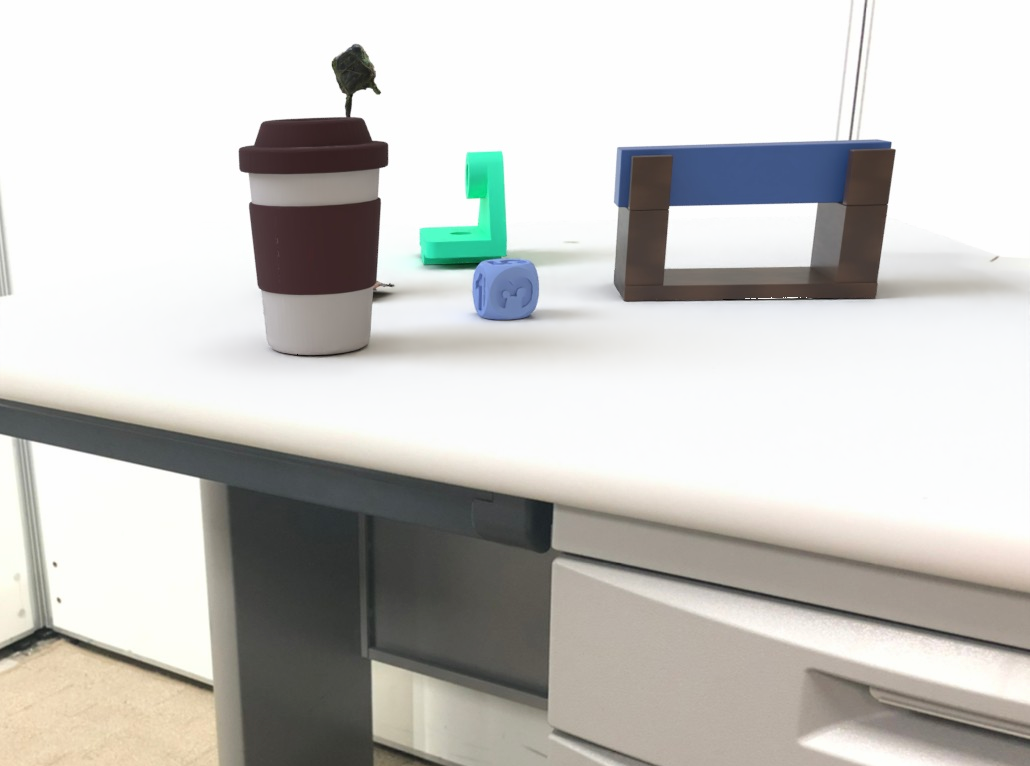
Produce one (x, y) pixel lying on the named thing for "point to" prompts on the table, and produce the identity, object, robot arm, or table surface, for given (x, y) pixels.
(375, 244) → the coffee cup
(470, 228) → the camera mount
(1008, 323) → the table surface
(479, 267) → the decorative dice
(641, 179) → the holder
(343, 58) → the plant with pod
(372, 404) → the table surface
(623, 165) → the rectangular block
